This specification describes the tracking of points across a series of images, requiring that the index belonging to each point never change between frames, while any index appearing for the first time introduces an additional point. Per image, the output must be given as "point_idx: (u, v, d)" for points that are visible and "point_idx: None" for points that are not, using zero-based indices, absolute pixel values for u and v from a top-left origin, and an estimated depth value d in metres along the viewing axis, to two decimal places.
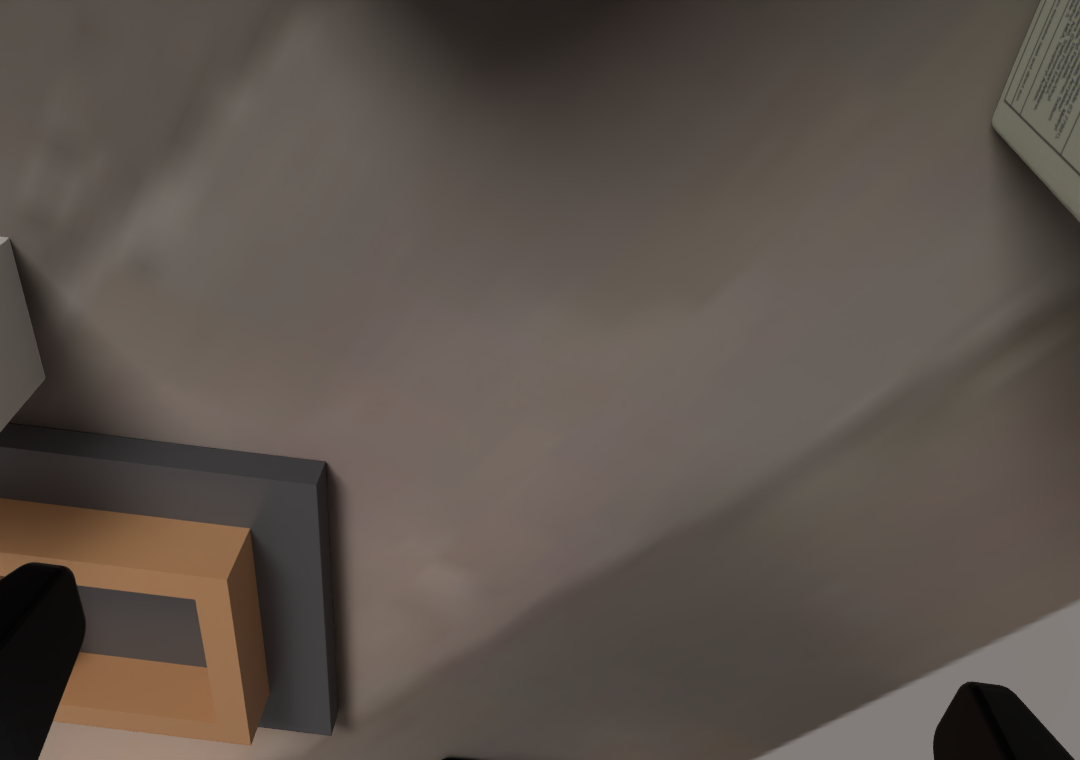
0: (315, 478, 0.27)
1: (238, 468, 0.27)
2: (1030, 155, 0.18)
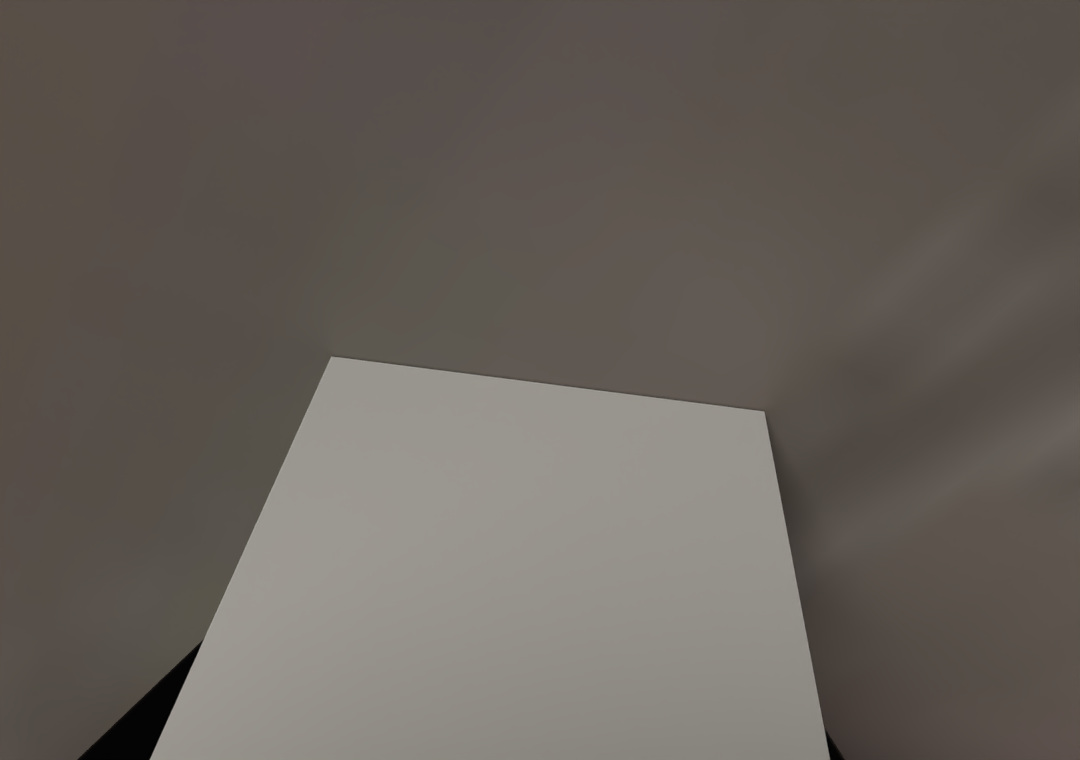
0: None
1: None
2: None
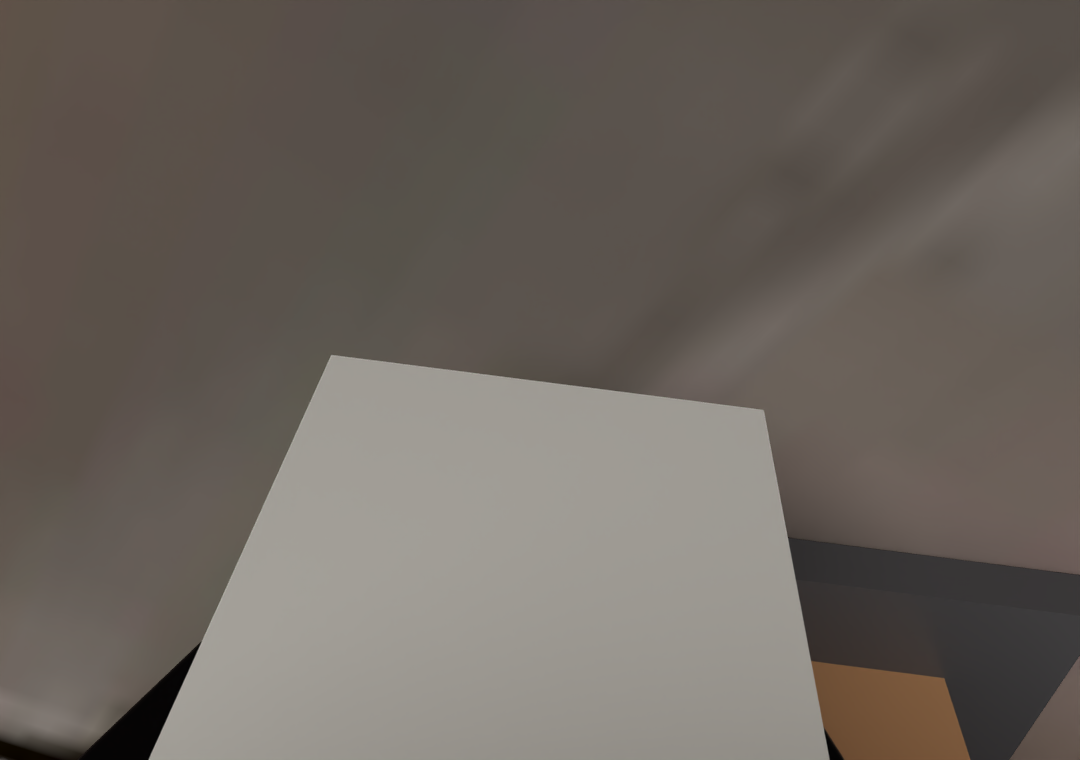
0: None
1: (967, 589, 0.17)
2: None
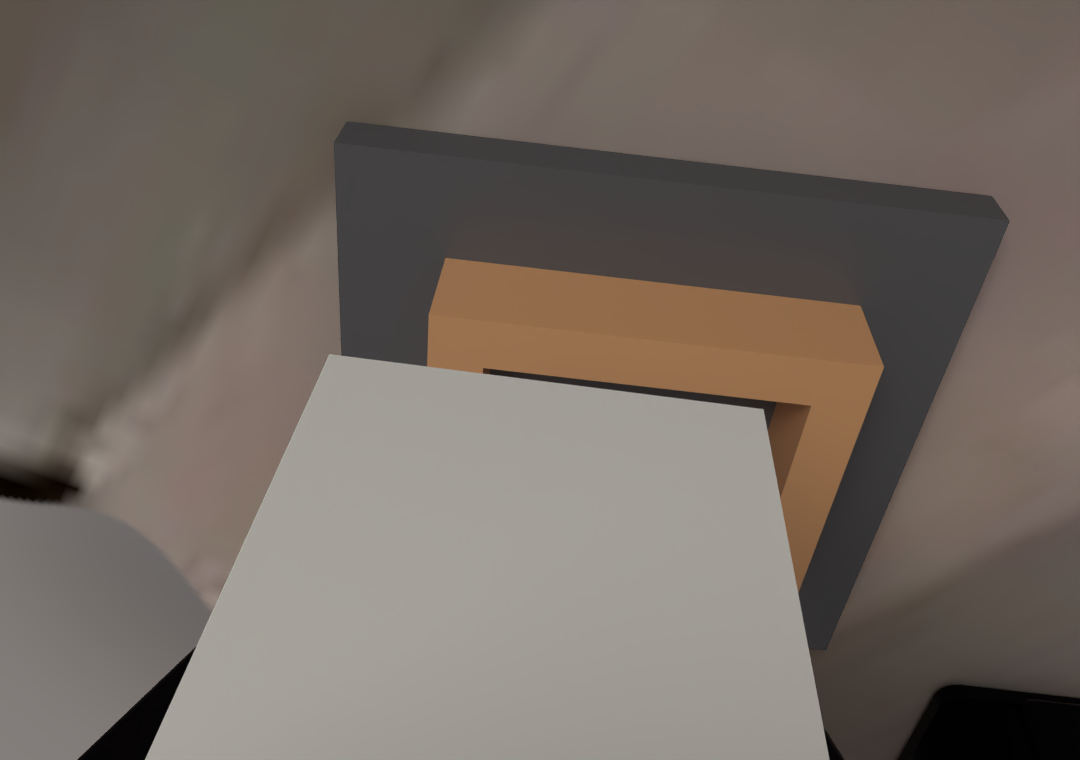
0: (998, 212, 0.17)
1: (877, 198, 0.17)
2: None
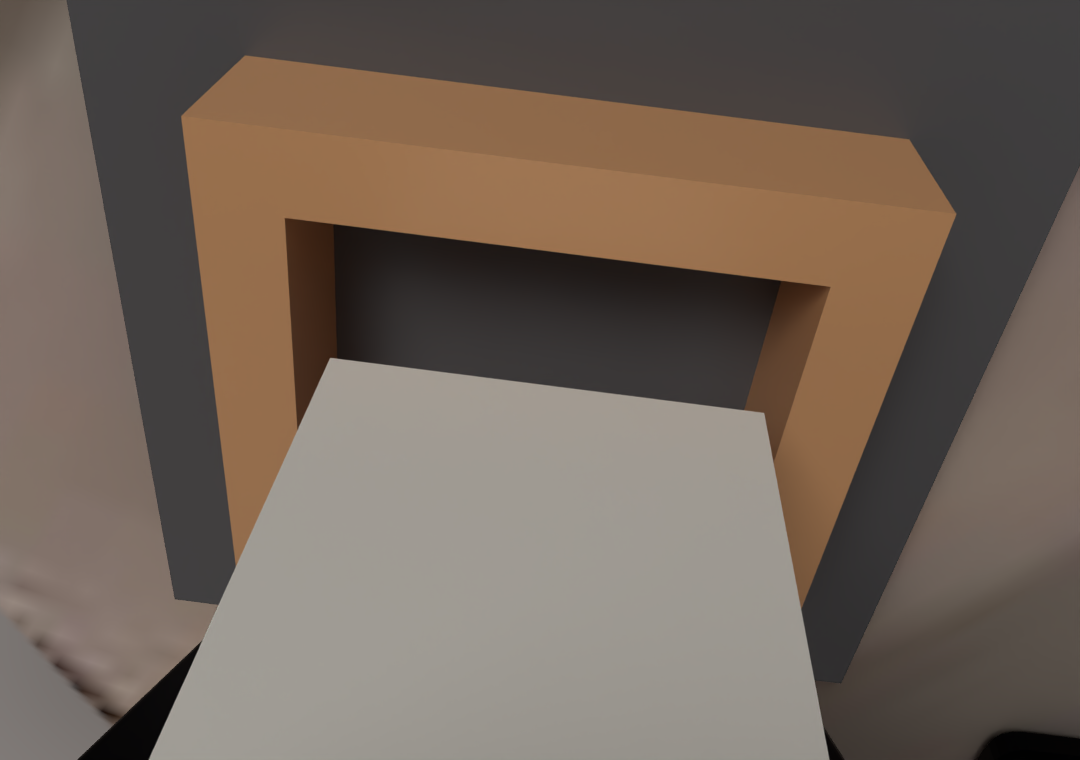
0: None
1: None
2: None
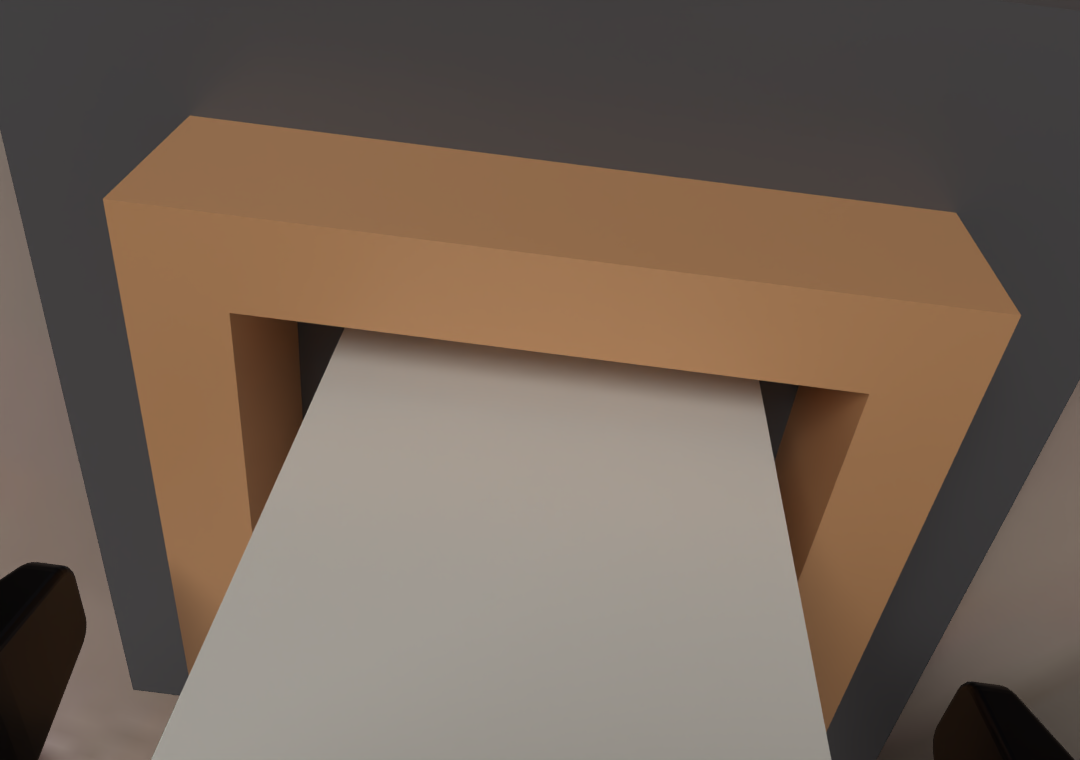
0: None
1: None
2: None
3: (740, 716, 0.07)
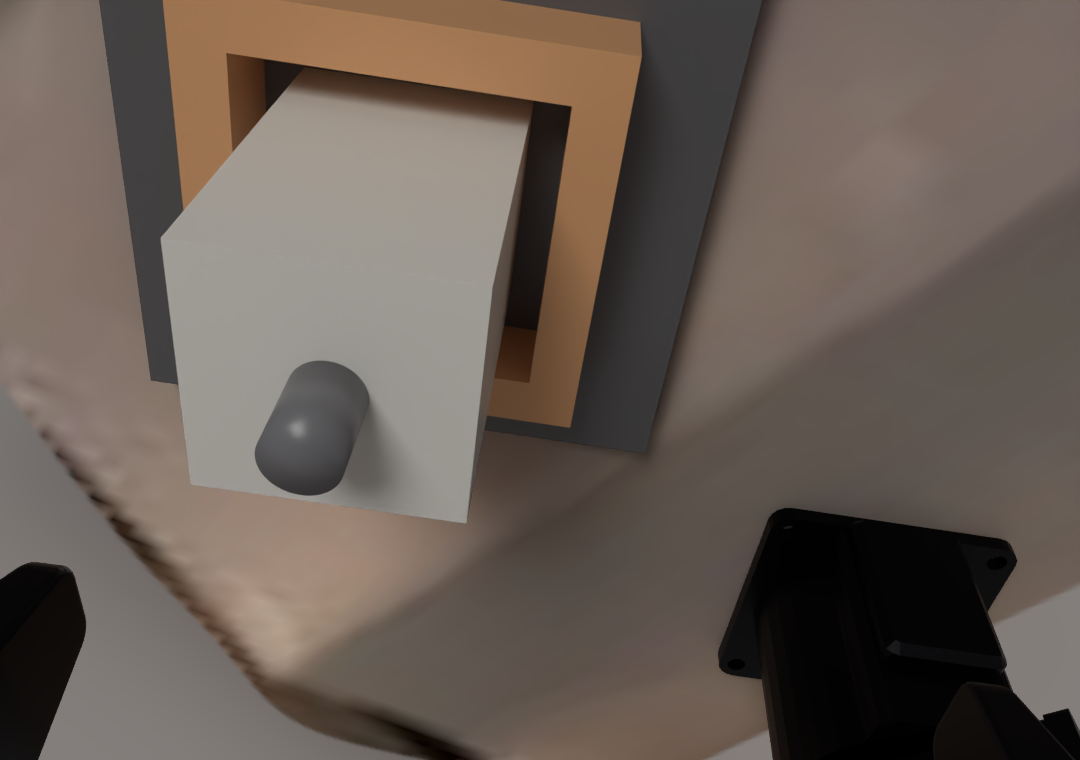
0: None
1: None
2: None
3: (466, 215, 0.14)
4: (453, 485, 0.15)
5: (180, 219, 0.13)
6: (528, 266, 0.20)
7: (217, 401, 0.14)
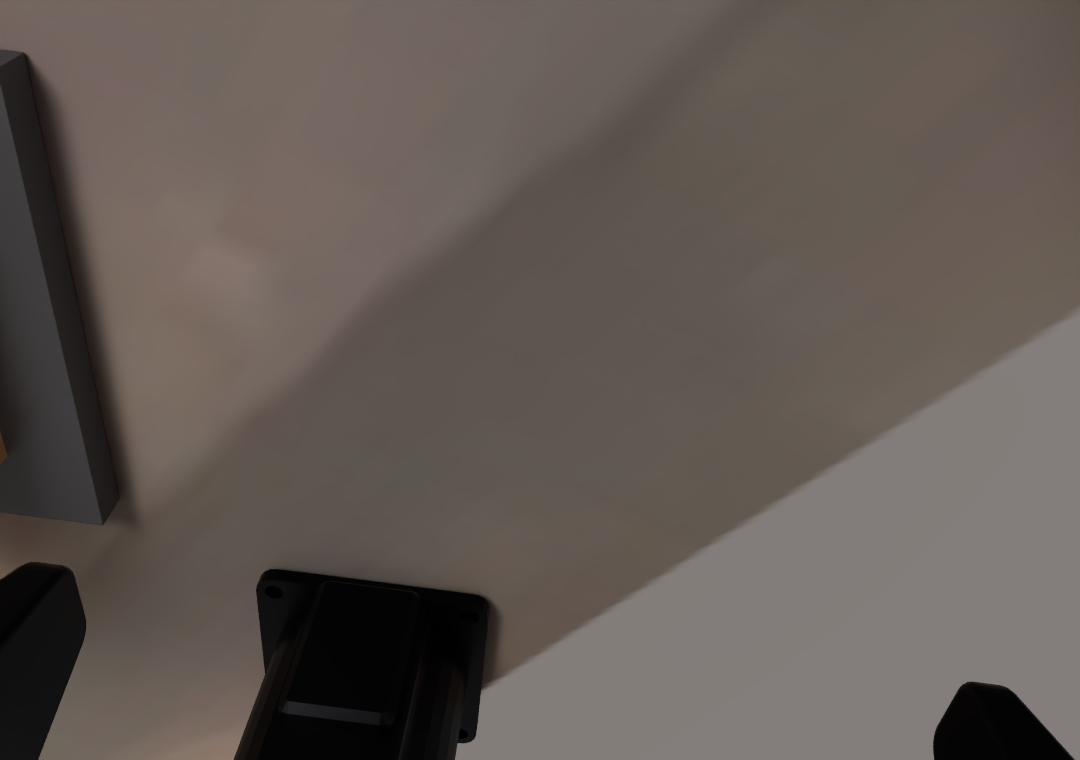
0: None
1: None
2: None
3: None
4: None
5: None
6: None
7: None
